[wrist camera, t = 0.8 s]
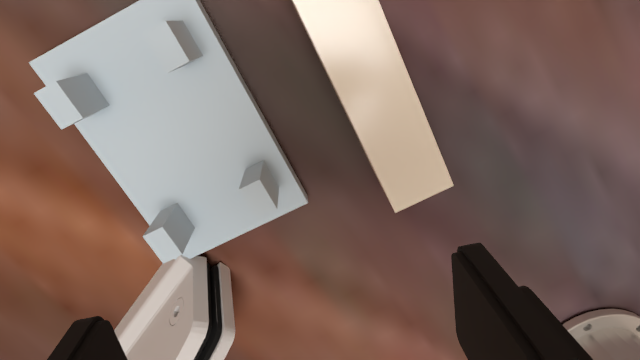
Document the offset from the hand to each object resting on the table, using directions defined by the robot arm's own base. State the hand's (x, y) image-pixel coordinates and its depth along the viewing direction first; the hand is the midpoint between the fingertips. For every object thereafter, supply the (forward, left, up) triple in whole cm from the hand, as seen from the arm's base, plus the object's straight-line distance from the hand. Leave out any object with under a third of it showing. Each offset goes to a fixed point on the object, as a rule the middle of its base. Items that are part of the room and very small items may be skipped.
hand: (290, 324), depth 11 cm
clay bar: (0, -6, -23) cm, 23 cm away
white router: (-12, +19, -23) cm, 31 cm away
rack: (+3, +8, -22) cm, 24 cm away
